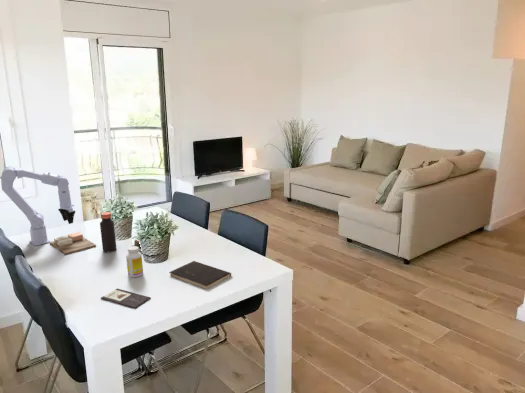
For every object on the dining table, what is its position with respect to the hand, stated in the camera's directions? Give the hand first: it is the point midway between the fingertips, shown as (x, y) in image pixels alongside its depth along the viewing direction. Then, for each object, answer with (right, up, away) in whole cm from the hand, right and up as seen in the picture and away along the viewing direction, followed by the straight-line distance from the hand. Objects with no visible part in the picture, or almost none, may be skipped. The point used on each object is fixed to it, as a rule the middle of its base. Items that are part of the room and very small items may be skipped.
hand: (68, 221), depth 240 cm
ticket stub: (+5, -9, -3) cm, 11 cm away
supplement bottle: (+51, -21, -45) cm, 71 cm away
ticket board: (+6, -12, -9) cm, 16 cm away
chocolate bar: (+53, -28, -67) cm, 90 cm away
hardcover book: (+81, -22, -47) cm, 96 cm away
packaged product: (+49, -14, -16) cm, 54 cm away
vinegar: (+29, -14, -16) cm, 36 cm away
